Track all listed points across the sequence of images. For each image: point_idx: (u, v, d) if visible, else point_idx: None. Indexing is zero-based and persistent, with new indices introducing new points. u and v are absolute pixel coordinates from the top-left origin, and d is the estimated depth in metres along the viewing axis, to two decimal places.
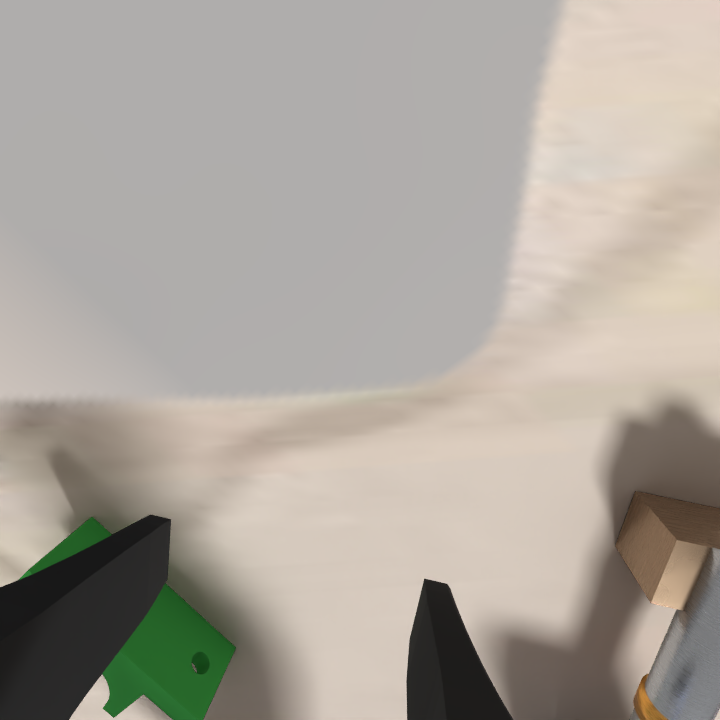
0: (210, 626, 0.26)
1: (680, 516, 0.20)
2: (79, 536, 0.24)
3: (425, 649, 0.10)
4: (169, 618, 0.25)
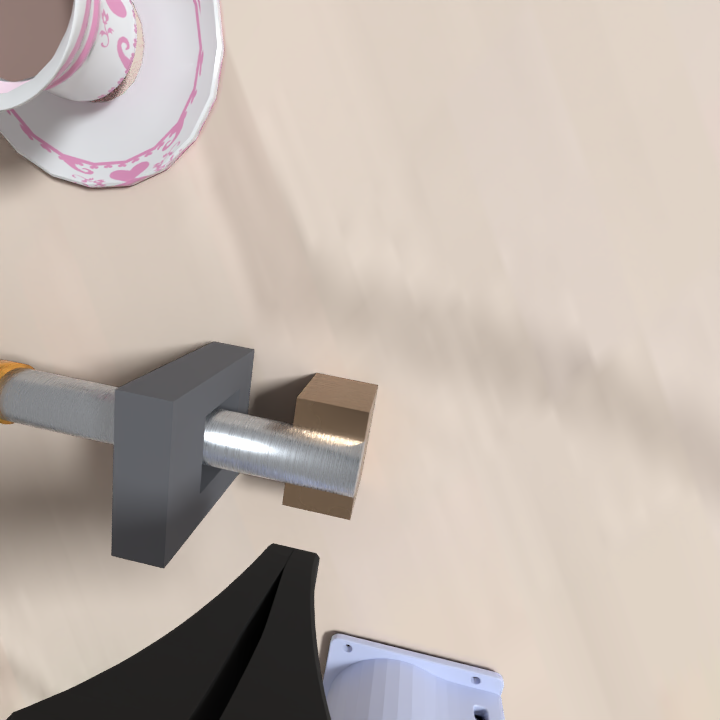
0: None
1: None
2: None
3: None
4: None
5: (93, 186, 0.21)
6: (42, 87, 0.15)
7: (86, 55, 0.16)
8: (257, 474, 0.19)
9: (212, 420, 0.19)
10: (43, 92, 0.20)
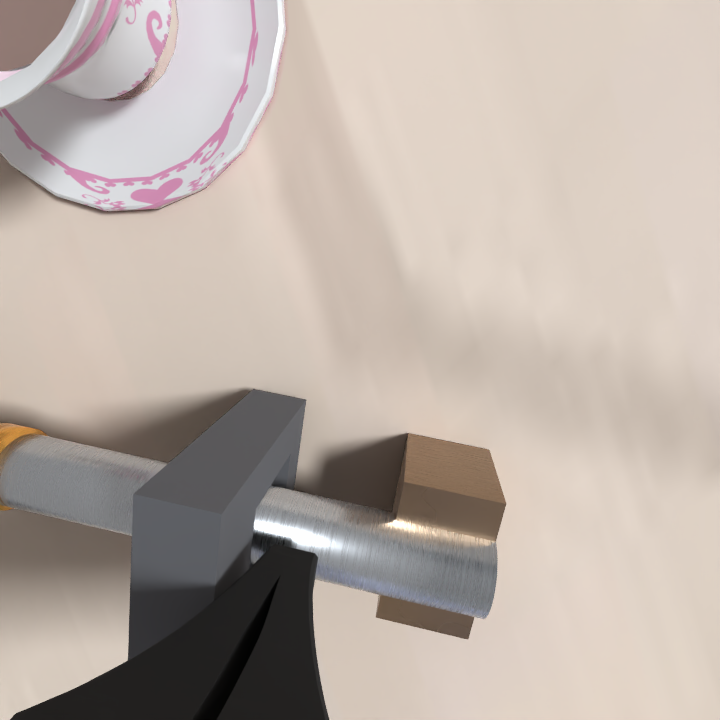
0: None
1: None
2: None
3: None
4: None
5: (109, 209, 0.16)
6: (44, 78, 0.10)
7: (106, 34, 0.11)
8: (350, 586, 0.14)
9: (289, 513, 0.14)
10: (44, 87, 0.16)
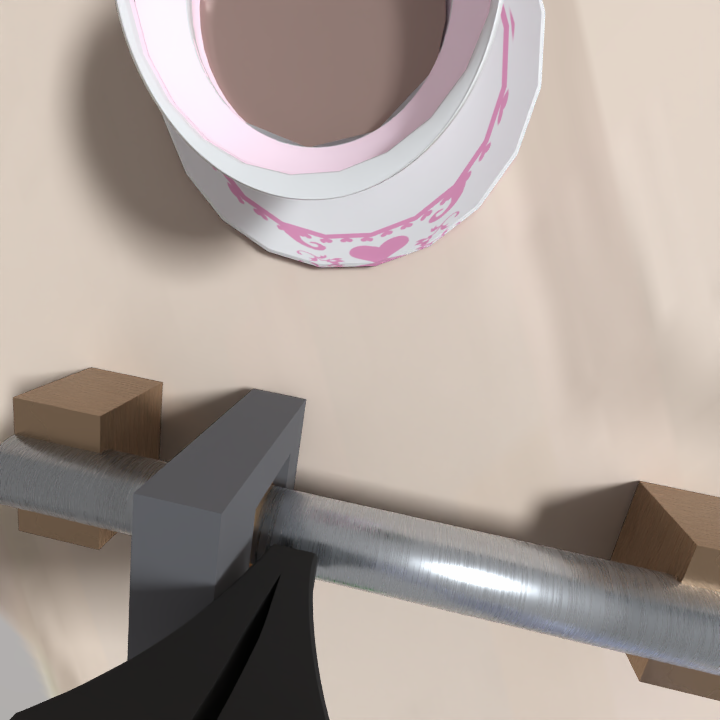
0: None
1: None
2: None
3: None
4: None
5: (325, 266, 0.16)
6: (404, 167, 0.09)
7: None
8: (639, 655, 0.13)
9: (573, 577, 0.13)
10: None
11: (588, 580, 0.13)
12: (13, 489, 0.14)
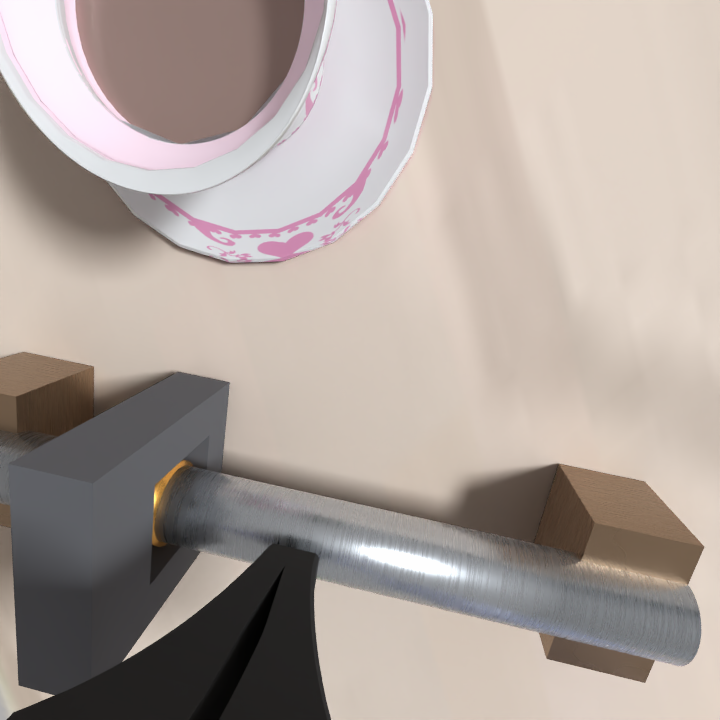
0: None
1: None
2: None
3: None
4: None
5: (234, 261, 0.16)
6: (252, 163, 0.10)
7: None
8: (537, 631, 0.13)
9: (473, 554, 0.13)
10: None
11: (488, 557, 0.13)
12: None
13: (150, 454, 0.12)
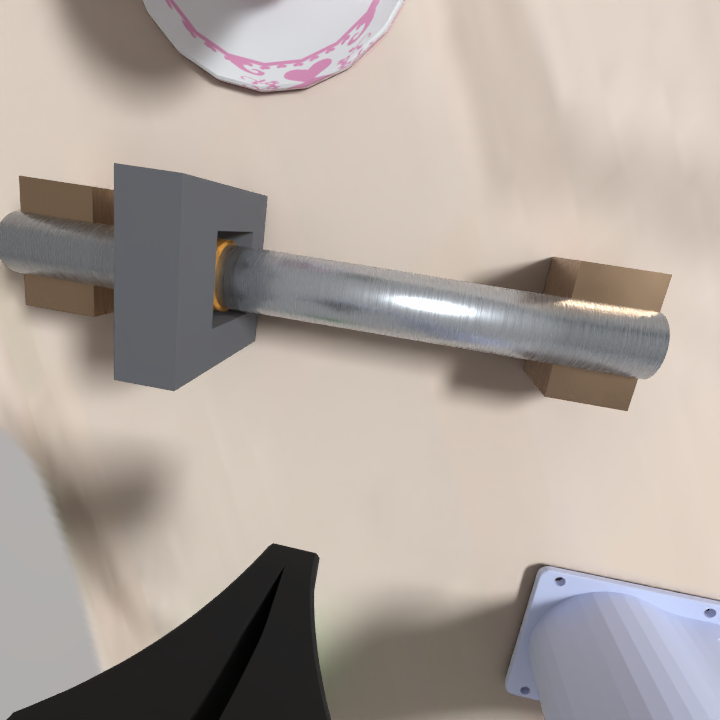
0: None
1: None
2: None
3: None
4: None
5: (264, 89, 0.19)
6: None
7: None
8: (536, 352, 0.16)
9: (481, 290, 0.16)
10: None
11: (493, 292, 0.16)
12: (21, 244, 0.17)
13: (216, 195, 0.15)
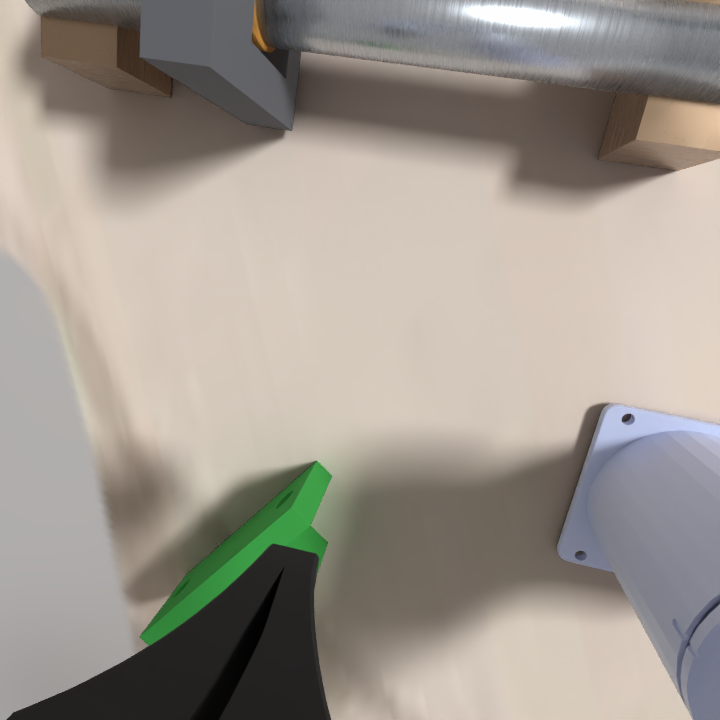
0: (290, 484, 0.24)
1: None
2: (177, 589, 0.25)
3: None
4: (253, 522, 0.23)
5: None
6: None
7: None
8: (634, 61, 0.13)
9: None
10: None
11: None
12: None
13: None
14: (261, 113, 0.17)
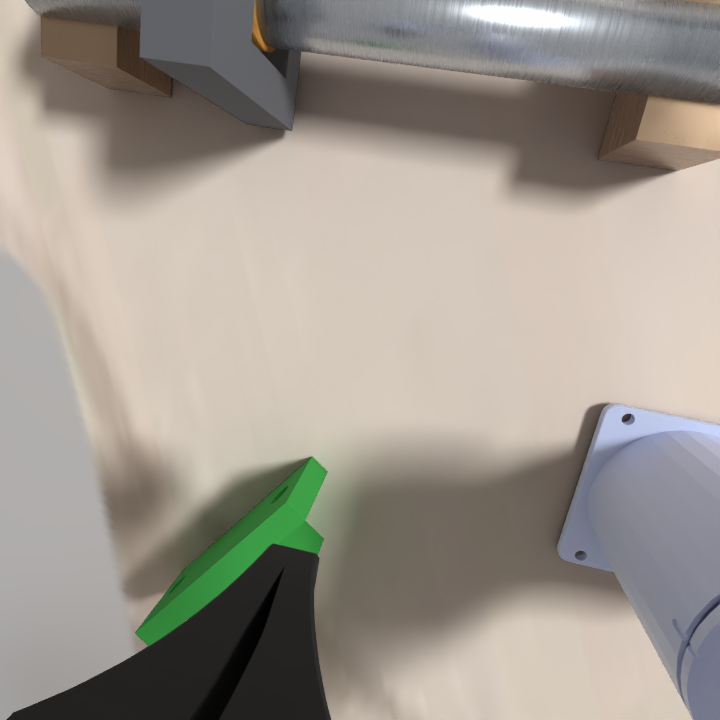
0: (285, 480, 0.24)
1: None
2: (173, 585, 0.25)
3: None
4: (248, 518, 0.23)
5: None
6: None
7: None
8: (634, 61, 0.13)
9: None
10: None
11: None
12: None
13: None
14: (261, 113, 0.17)
